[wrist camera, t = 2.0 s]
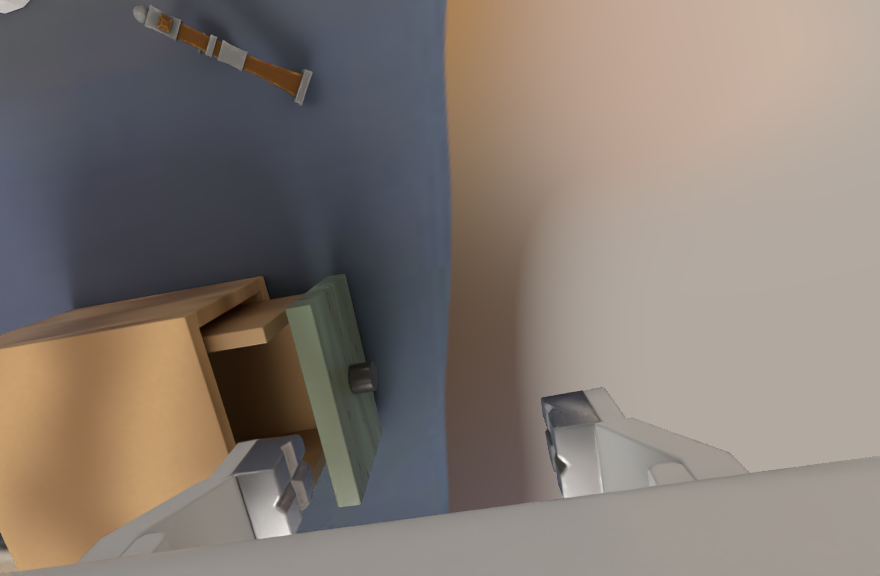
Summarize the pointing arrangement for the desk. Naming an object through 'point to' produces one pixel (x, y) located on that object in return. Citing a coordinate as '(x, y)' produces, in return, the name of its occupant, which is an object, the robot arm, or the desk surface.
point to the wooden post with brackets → (224, 51)
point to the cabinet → (108, 417)
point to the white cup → (11, 5)
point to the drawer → (301, 380)
